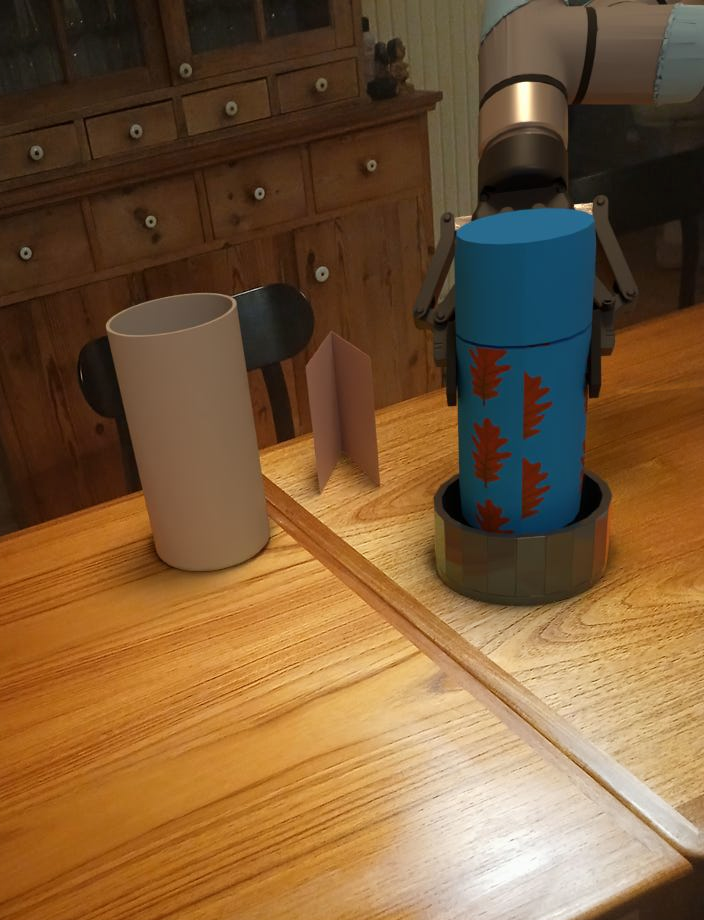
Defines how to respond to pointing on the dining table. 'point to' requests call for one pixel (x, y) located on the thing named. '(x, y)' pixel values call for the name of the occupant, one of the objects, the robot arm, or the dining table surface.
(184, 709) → the dining table surface
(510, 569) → the faceted round dish
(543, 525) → the thermos
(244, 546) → the cylinder vase
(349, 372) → the greeting card
